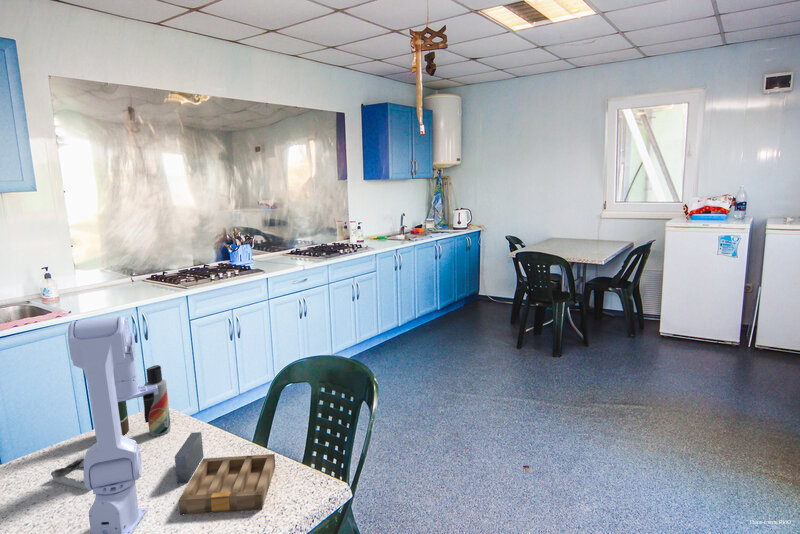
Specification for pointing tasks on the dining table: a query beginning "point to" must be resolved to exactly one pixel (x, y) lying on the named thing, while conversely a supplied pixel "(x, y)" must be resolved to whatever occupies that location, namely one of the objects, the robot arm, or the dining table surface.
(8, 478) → the dining table surface
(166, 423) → the lotion bottle
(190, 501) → the rack
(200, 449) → the panel
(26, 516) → the dining table surface
